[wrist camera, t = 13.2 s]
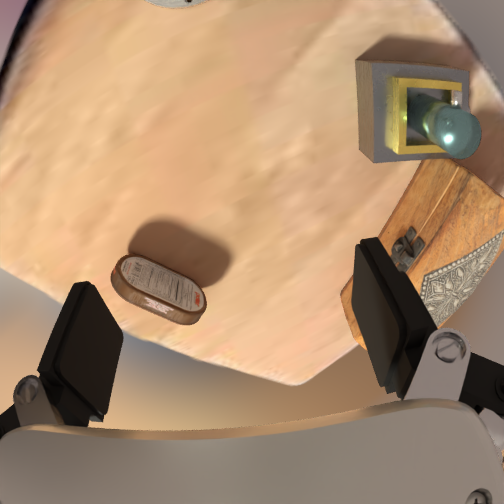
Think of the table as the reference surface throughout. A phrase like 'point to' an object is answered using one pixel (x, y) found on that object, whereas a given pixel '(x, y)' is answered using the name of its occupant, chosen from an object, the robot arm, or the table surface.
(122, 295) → the tin
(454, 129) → the spout can
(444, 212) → the wooden box
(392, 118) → the grey yellow box
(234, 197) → the table surface
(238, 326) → the table surface
